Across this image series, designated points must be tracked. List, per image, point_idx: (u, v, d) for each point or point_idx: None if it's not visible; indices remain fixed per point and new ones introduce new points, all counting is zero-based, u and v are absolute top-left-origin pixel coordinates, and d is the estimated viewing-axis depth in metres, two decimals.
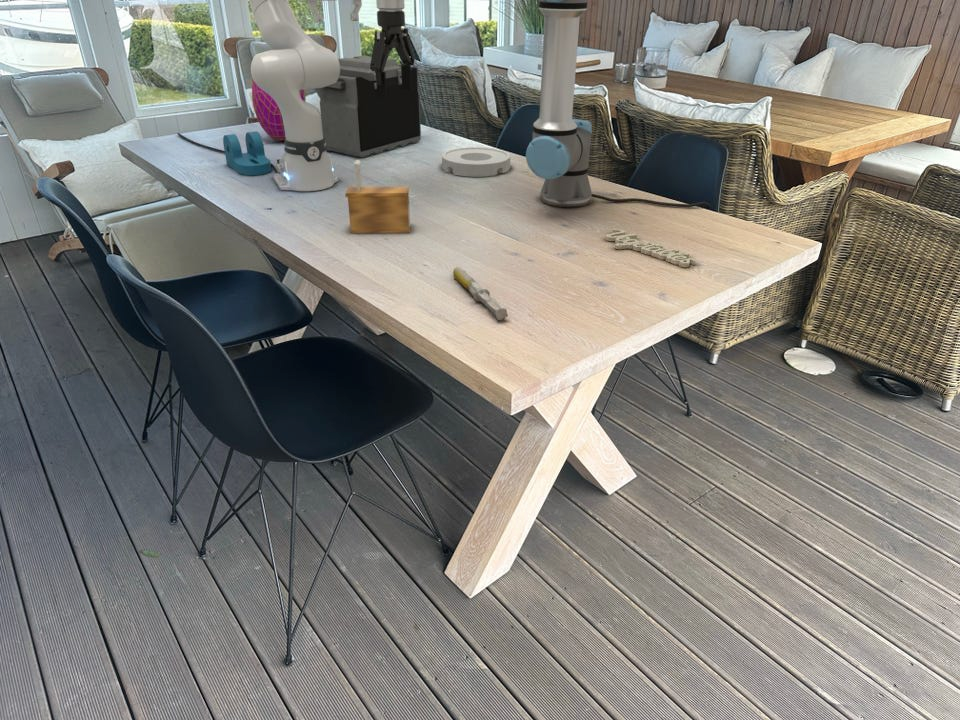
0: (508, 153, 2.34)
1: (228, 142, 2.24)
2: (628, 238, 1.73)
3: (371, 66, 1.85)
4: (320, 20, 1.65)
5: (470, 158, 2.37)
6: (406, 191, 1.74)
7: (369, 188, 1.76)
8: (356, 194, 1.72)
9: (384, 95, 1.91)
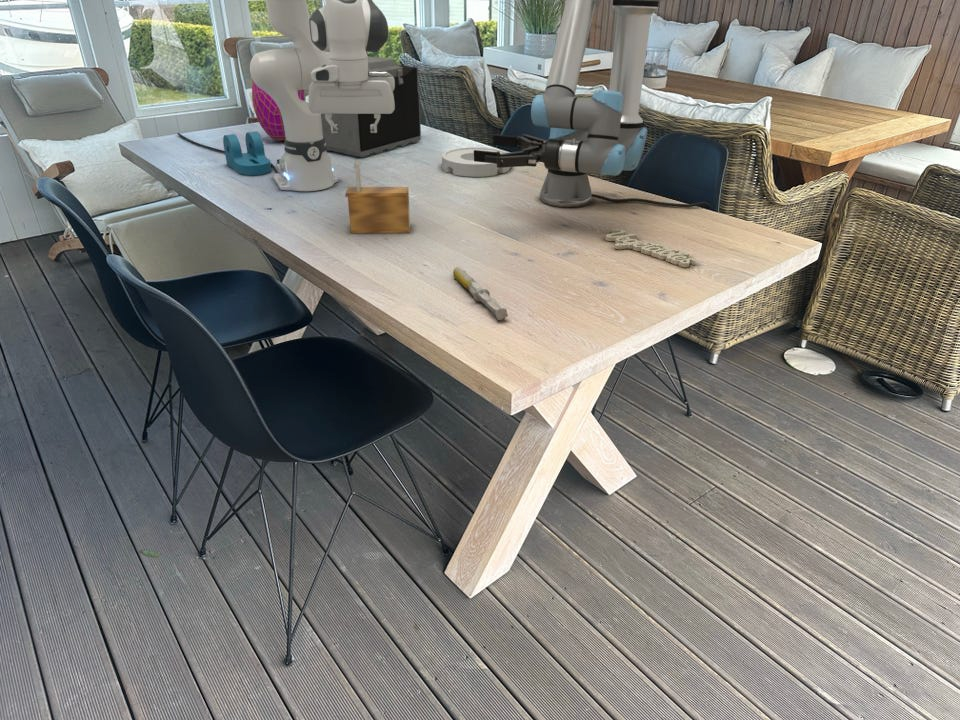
0: None
1: (228, 142, 2.24)
2: (628, 238, 1.73)
3: (499, 159, 1.69)
4: (335, 131, 1.66)
5: (470, 158, 2.37)
6: (406, 191, 1.74)
7: (369, 188, 1.76)
8: (356, 194, 1.72)
9: (475, 160, 1.75)
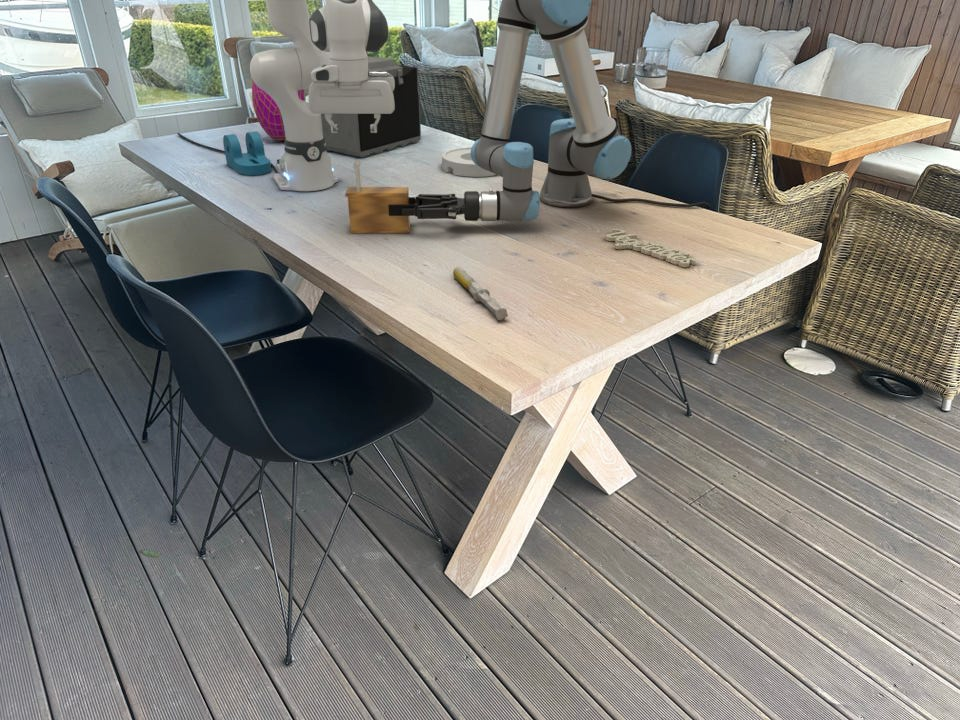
0: None
1: (228, 142, 2.24)
2: (628, 238, 1.73)
3: (419, 211, 1.72)
4: (335, 131, 1.66)
5: (470, 158, 2.37)
6: (406, 191, 1.74)
7: (369, 188, 1.76)
8: (356, 194, 1.72)
9: (390, 214, 1.75)
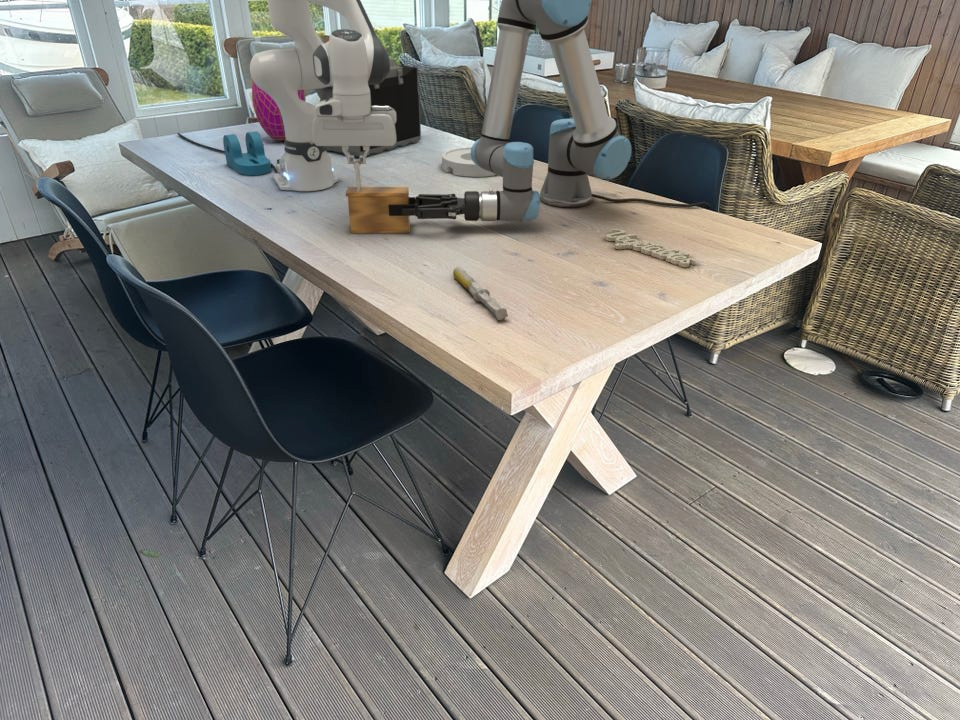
0: None
1: (228, 142, 2.24)
2: (628, 238, 1.73)
3: (419, 211, 1.72)
4: (351, 162, 1.70)
5: (470, 158, 2.37)
6: (406, 191, 1.74)
7: (369, 188, 1.76)
8: (356, 194, 1.72)
9: (390, 214, 1.75)
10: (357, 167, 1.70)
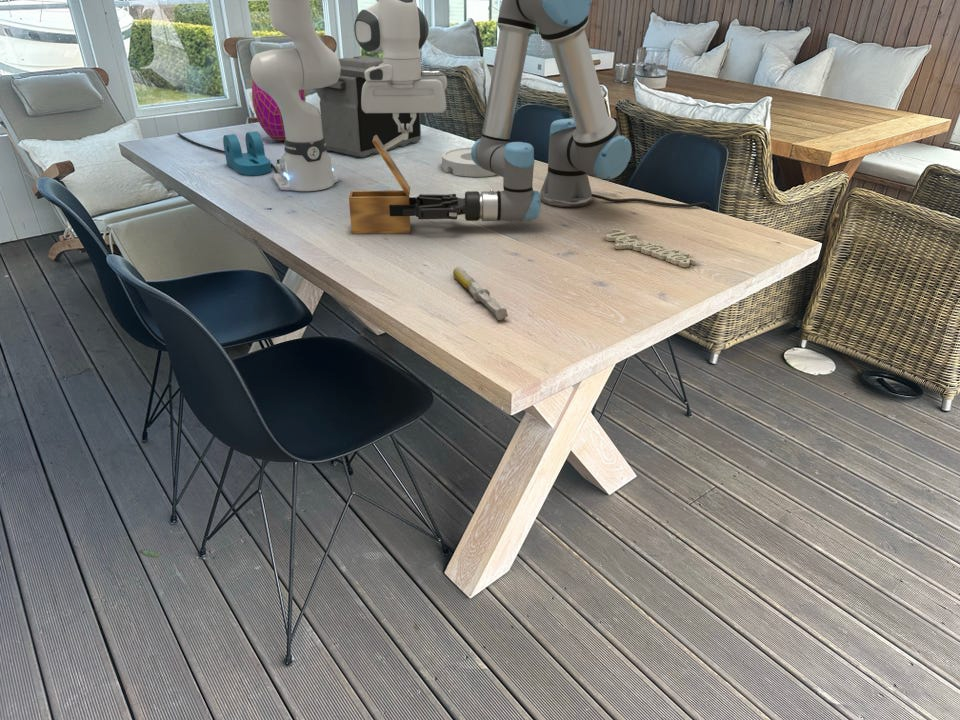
0: None
1: (228, 142, 2.24)
2: (628, 238, 1.73)
3: (420, 211, 1.72)
4: (401, 130, 1.66)
5: (470, 158, 2.37)
6: (409, 191, 1.74)
7: (389, 155, 1.72)
8: (380, 150, 1.67)
9: (391, 215, 1.75)
10: (404, 138, 1.67)
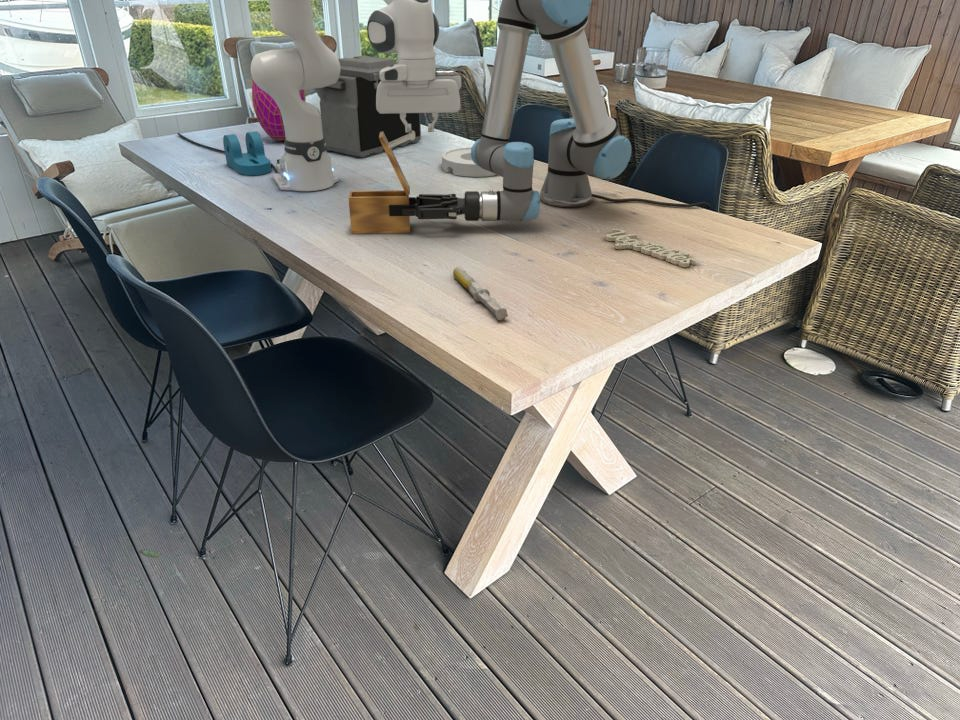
0: None
1: (228, 142, 2.24)
2: (628, 238, 1.73)
3: (420, 211, 1.72)
4: (409, 130, 1.67)
5: (470, 158, 2.37)
6: (409, 191, 1.74)
7: (393, 153, 1.71)
8: (386, 147, 1.66)
9: (391, 215, 1.75)
10: (411, 138, 1.67)
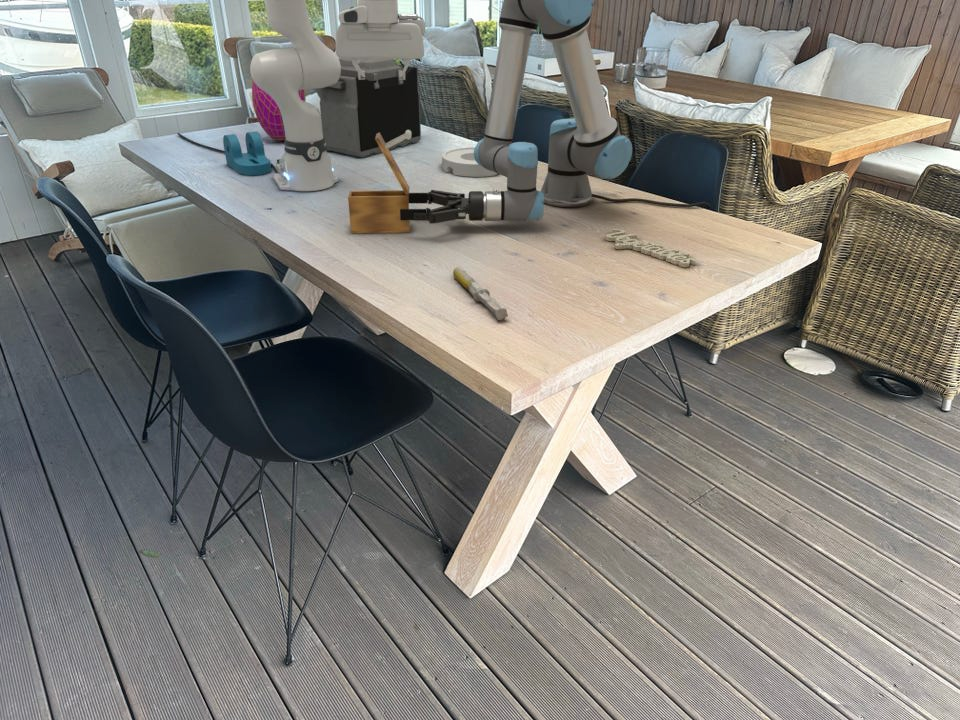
0: None
1: (228, 142, 2.24)
2: (628, 238, 1.73)
3: (432, 215, 1.69)
4: (362, 77, 1.60)
5: (470, 158, 2.37)
6: (408, 191, 1.74)
7: (390, 154, 1.72)
8: (382, 148, 1.67)
9: (402, 219, 1.72)
10: (407, 137, 1.67)
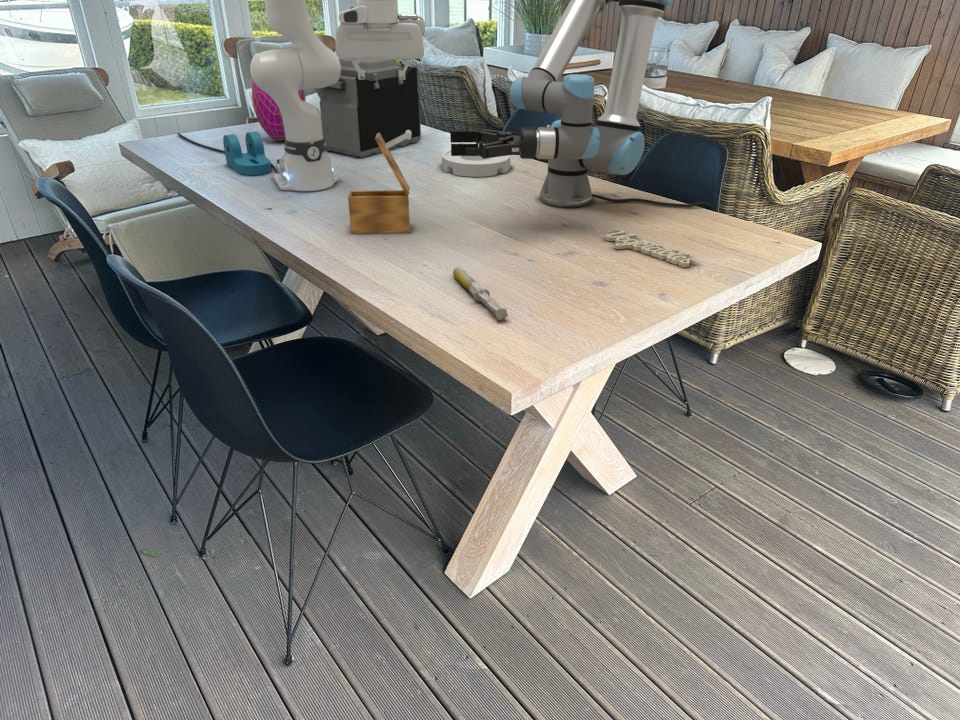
0: None
1: (228, 142, 2.24)
2: (628, 238, 1.73)
3: (485, 149, 1.61)
4: (362, 77, 1.60)
5: (470, 158, 2.37)
6: (408, 191, 1.74)
7: (390, 154, 1.72)
8: (382, 148, 1.67)
9: (453, 154, 1.64)
10: (407, 137, 1.67)
